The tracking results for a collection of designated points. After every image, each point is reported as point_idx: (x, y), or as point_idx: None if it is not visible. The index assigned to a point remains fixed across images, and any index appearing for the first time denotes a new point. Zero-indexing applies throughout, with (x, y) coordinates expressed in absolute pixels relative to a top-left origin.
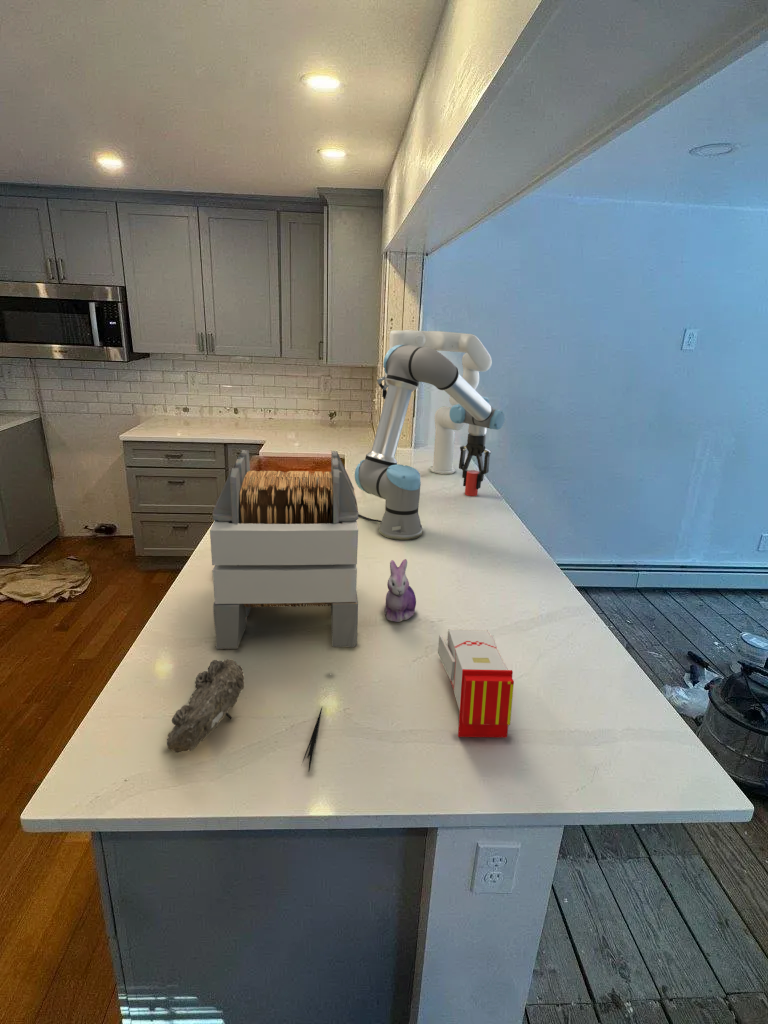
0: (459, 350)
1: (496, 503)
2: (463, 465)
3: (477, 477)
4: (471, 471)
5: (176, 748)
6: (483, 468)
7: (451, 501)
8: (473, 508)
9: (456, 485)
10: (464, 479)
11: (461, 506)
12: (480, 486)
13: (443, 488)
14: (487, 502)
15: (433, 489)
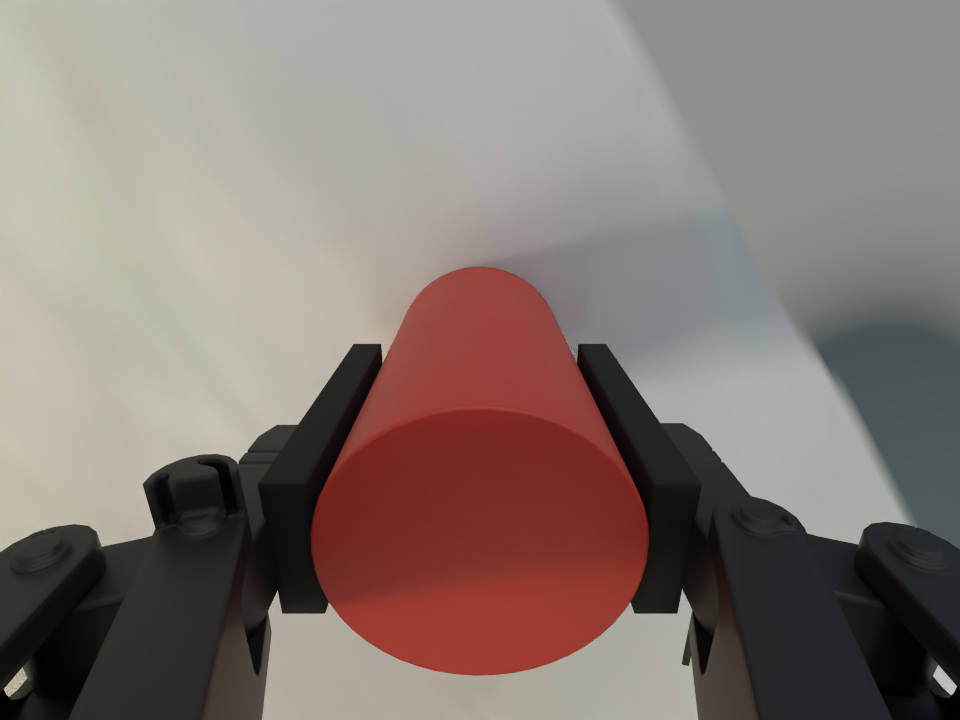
0: None
1: (840, 441)
2: (63, 617)
3: None
4: (424, 555)
5: None
6: (839, 644)
7: None
8: (670, 670)
9: (101, 91)
10: None
11: (564, 685)
12: (610, 351)
13: (98, 351)
14: (741, 471)
15: (60, 457)
